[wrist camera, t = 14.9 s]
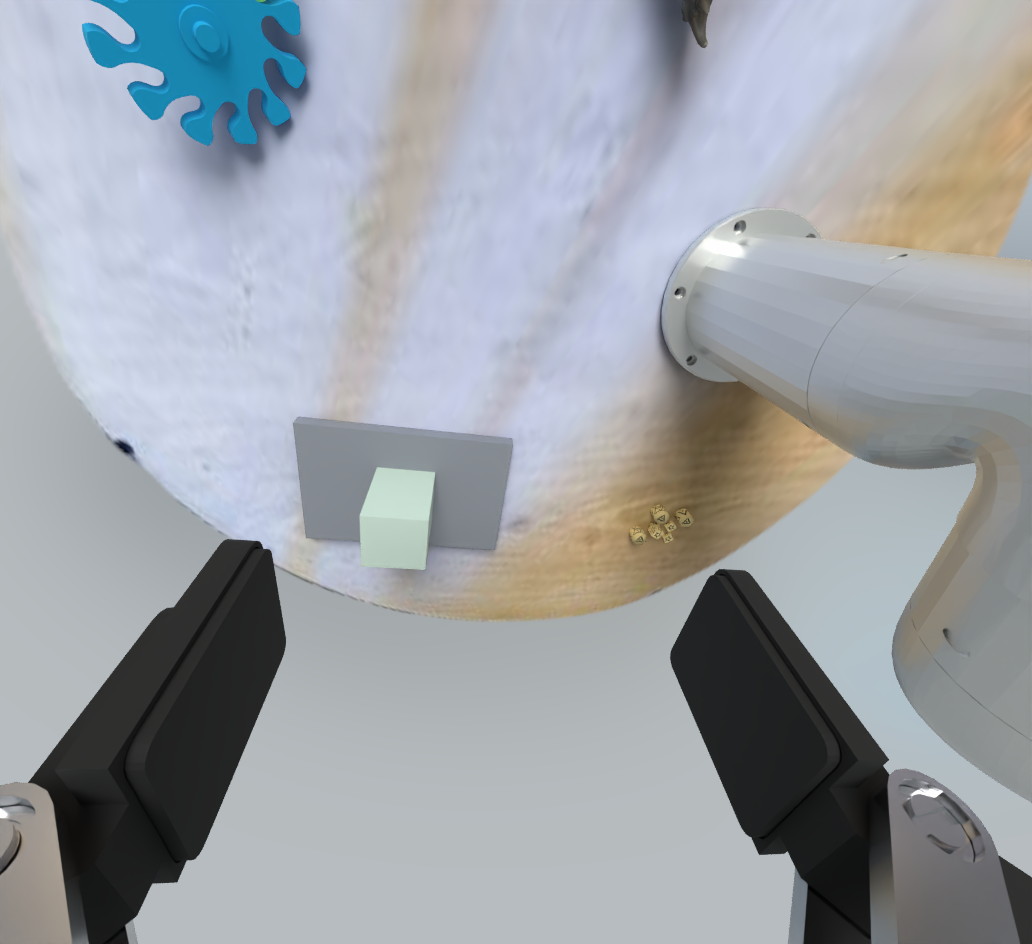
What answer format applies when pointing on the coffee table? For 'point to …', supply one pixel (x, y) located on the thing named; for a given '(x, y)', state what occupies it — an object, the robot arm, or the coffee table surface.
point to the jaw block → (397, 519)
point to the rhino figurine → (697, 18)
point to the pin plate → (363, 447)
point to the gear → (202, 57)
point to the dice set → (655, 529)
